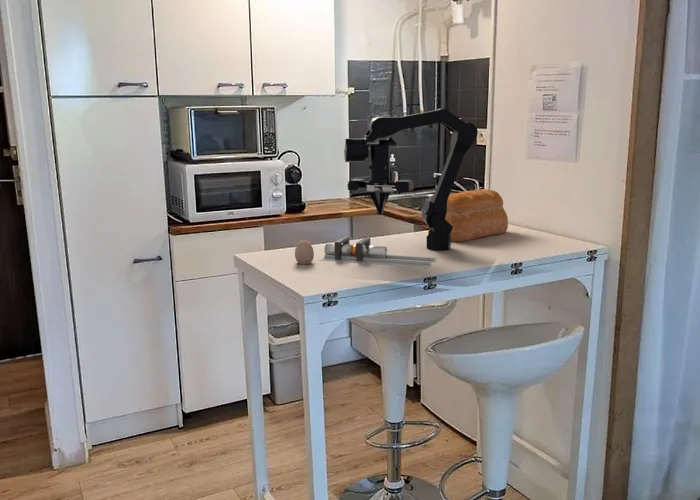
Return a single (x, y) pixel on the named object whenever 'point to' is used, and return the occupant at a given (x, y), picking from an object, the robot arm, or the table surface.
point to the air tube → (351, 250)
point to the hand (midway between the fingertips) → (380, 214)
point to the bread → (476, 214)
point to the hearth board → (387, 260)
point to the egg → (304, 252)
